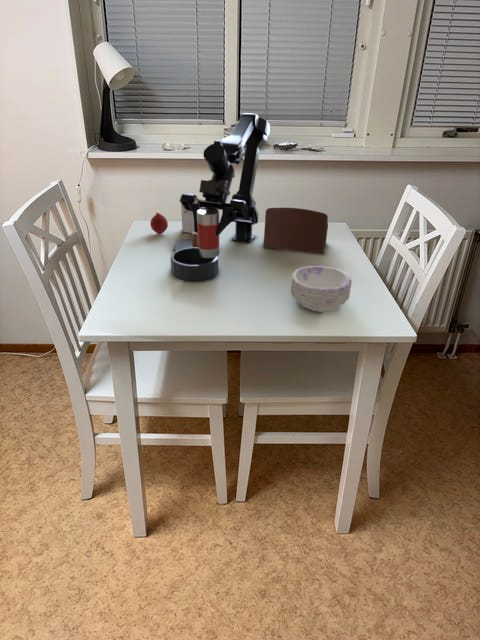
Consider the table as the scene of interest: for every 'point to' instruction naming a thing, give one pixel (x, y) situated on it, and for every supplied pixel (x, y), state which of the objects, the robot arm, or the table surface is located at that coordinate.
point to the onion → (159, 223)
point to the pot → (193, 265)
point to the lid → (186, 242)
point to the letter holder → (295, 230)
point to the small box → (187, 220)
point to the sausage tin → (207, 232)
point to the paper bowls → (320, 287)
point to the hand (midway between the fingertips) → (206, 233)
